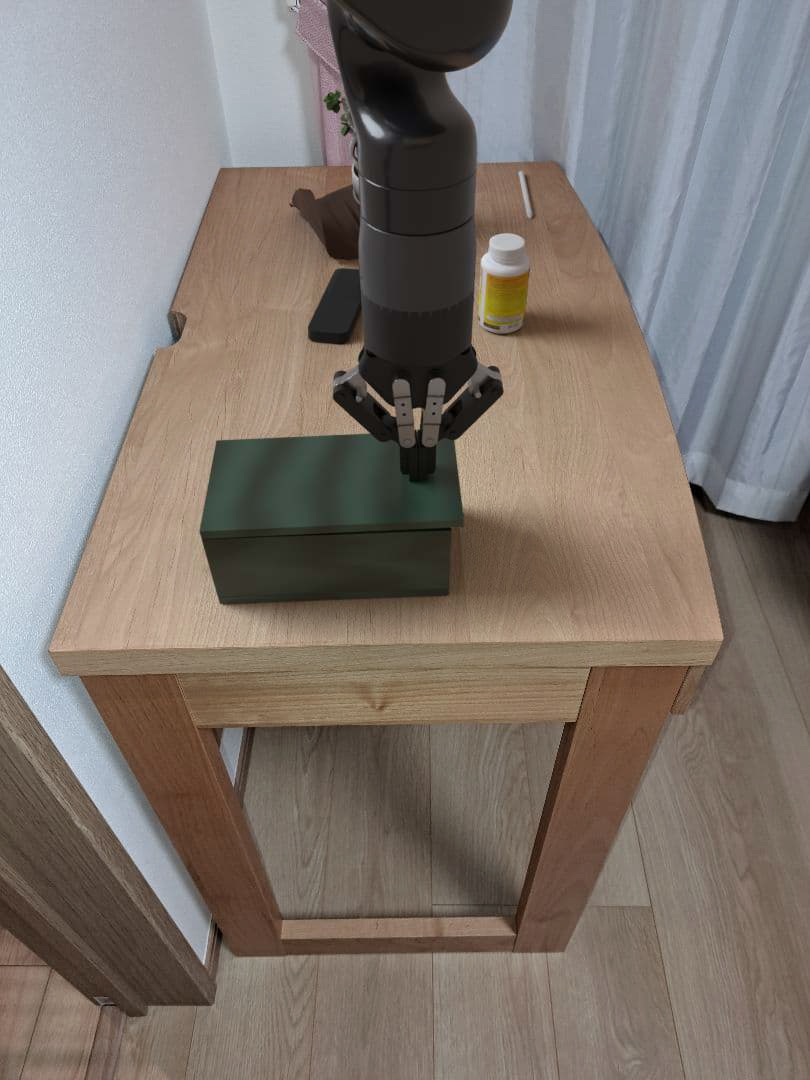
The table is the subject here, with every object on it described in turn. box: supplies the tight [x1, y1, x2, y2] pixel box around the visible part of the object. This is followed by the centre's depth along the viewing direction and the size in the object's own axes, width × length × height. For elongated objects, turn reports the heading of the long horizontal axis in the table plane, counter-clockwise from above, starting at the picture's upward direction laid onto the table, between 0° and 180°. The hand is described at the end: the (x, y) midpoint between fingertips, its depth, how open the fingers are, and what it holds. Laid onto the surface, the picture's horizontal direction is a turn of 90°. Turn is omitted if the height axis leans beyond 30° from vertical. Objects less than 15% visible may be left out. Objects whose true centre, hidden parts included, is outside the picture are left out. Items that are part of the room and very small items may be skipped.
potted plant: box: [288, 89, 360, 261], centre depth 108 cm, size 20×19×25 cm
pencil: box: [518, 170, 534, 220], centre depth 121 cm, size 1×1×15 cm
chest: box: [201, 528, 453, 605], centre depth 70 cm, size 19×11×8 cm, turn 92°
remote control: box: [307, 267, 362, 344], centre depth 100 cm, size 5×2×15 cm
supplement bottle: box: [477, 232, 531, 335], centre depth 94 cm, size 6×6×10 cm
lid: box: [198, 433, 465, 540], centre depth 67 cm, size 20×11×1 cm, turn 92°
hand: (417, 473), depth 66 cm, fingers closed
